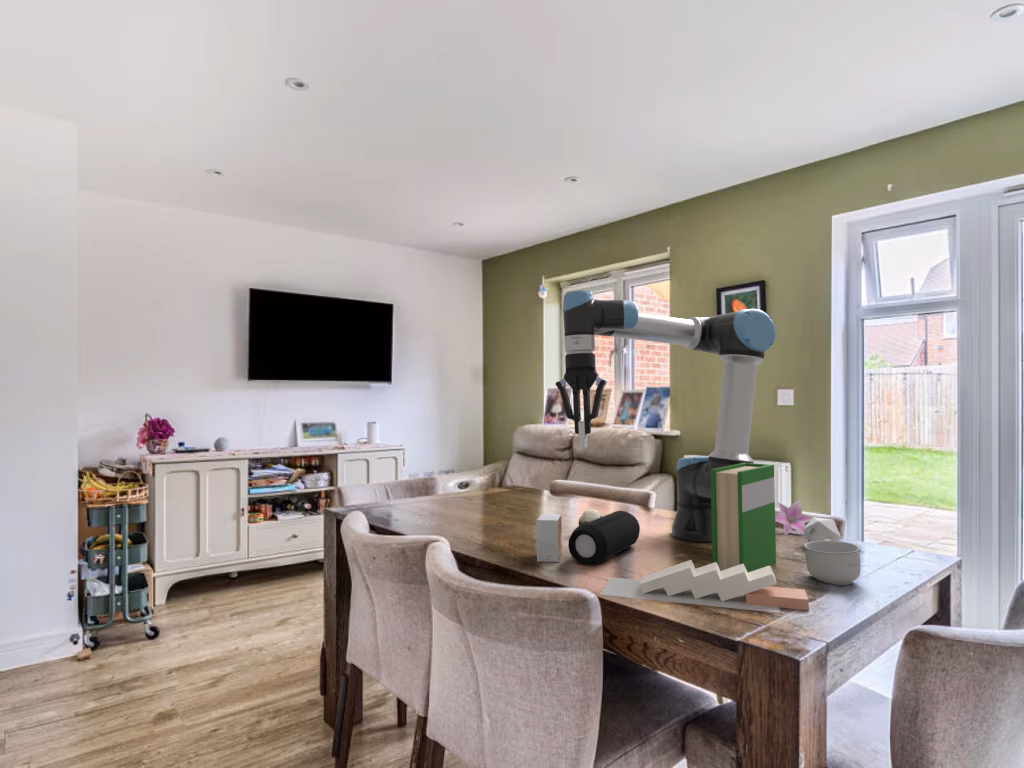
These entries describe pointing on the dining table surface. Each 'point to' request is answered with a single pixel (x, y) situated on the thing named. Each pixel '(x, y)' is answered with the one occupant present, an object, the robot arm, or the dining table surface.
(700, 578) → the domino
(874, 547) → the dining table surface
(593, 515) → the skull
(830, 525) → the die
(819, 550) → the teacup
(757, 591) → the domino
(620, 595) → the mat
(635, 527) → the portable speaker
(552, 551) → the small box
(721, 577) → the domino
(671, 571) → the domino
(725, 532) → the hardback book
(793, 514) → the lily
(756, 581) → the domino
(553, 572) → the dining table surface
